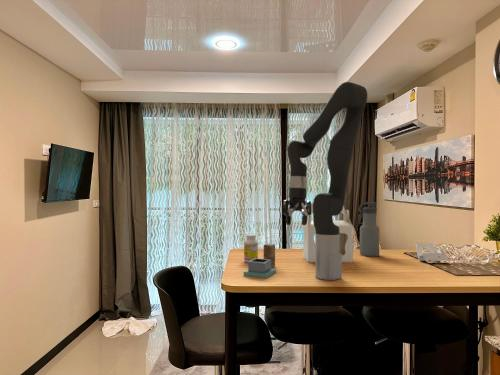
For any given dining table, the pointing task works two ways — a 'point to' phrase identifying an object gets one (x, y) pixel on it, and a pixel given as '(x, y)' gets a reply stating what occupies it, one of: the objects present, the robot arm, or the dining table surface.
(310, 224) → the gable box
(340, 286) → the dining table surface
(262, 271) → the square socket frame
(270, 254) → the rail post
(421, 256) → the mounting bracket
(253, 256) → the supplement bottle
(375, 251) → the water bottle
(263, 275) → the plate
